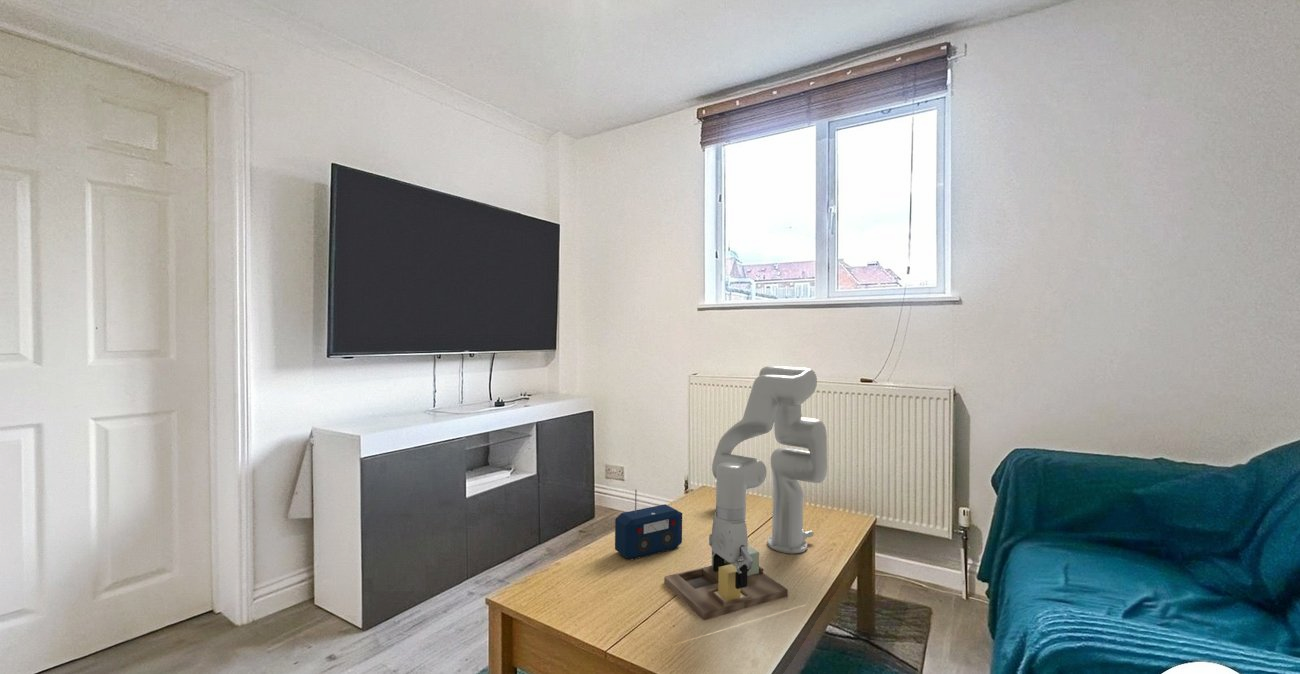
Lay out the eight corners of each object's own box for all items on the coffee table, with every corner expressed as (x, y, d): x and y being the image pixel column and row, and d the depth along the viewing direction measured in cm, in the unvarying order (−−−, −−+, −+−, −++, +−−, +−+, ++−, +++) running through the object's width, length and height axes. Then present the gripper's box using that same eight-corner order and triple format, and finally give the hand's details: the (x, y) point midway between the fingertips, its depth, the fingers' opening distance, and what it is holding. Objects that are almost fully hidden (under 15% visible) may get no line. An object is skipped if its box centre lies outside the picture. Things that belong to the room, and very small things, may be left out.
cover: (737, 558, 154) (737, 530, 154) (758, 573, 145) (759, 543, 145) (708, 565, 149) (709, 536, 149) (729, 580, 140) (729, 549, 140)
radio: (627, 563, 155) (628, 496, 155) (613, 552, 162) (614, 488, 162) (684, 548, 166) (685, 486, 166) (669, 538, 173) (669, 479, 173)
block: (731, 589, 135) (731, 564, 135) (740, 597, 132) (740, 570, 132) (718, 593, 134) (718, 567, 134) (727, 600, 130) (727, 573, 130)
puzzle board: (741, 565, 154) (741, 554, 154) (787, 596, 137) (787, 584, 137) (664, 583, 143) (664, 572, 143) (703, 620, 125) (704, 607, 125)
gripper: (699, 503, 138) (698, 567, 139) (739, 526, 123) (738, 598, 123) (723, 499, 142) (722, 562, 142) (764, 521, 126) (763, 591, 127)
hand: (729, 578), depth 133 cm, fingers open, 9 cm apart
